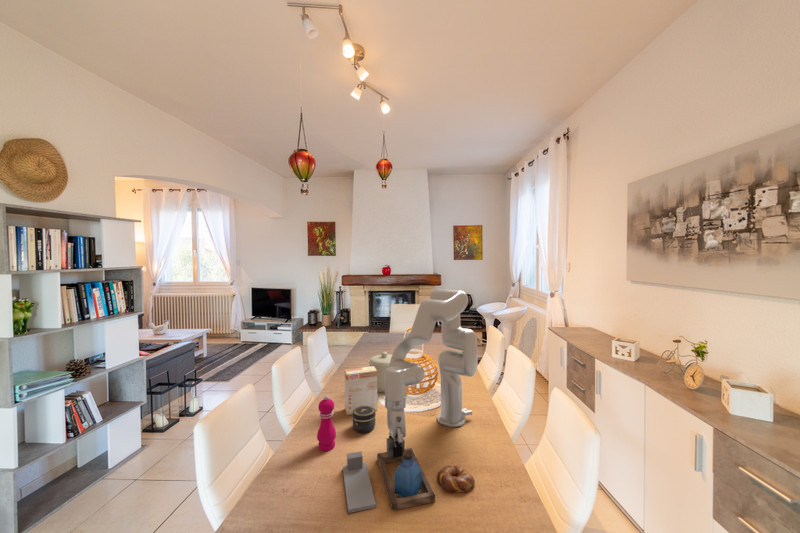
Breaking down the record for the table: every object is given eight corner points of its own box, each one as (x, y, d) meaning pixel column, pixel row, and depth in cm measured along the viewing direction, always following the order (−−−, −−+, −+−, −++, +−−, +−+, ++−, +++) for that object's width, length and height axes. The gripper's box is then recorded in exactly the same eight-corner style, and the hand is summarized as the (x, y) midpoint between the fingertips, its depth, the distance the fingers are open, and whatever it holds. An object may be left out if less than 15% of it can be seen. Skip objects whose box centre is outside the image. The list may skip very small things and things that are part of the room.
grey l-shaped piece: (365, 464, 111) (365, 450, 111) (375, 507, 92) (375, 490, 92) (342, 468, 109) (342, 454, 109) (348, 513, 90) (348, 495, 90)
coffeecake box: (374, 404, 159) (374, 365, 158) (377, 410, 152) (377, 370, 152) (344, 408, 154) (344, 369, 154) (346, 415, 147) (346, 374, 147)
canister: (372, 382, 188) (372, 346, 187) (402, 383, 185) (402, 347, 185) (364, 395, 170) (364, 356, 169) (398, 396, 167) (397, 357, 167)
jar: (347, 430, 134) (347, 412, 134) (361, 420, 143) (361, 403, 143) (367, 436, 130) (367, 418, 129) (379, 425, 138) (379, 408, 138)
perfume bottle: (411, 501, 94) (411, 462, 94) (394, 493, 98) (394, 455, 98) (421, 488, 100) (421, 451, 99) (404, 481, 103) (404, 445, 103)
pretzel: (474, 475, 106) (474, 464, 106) (474, 498, 96) (474, 486, 96) (439, 469, 109) (439, 458, 109) (435, 491, 99) (435, 480, 99)
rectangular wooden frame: (411, 453, 118) (411, 434, 118) (435, 501, 94) (435, 478, 94) (377, 458, 114) (377, 439, 114) (392, 510, 91) (392, 486, 91)
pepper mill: (339, 443, 125) (339, 393, 125) (329, 453, 118) (329, 400, 118) (323, 439, 127) (323, 390, 127) (313, 450, 120) (312, 398, 120)
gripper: (412, 411, 107) (412, 464, 107) (399, 391, 124) (399, 436, 124) (390, 414, 105) (390, 468, 105) (380, 393, 122) (380, 439, 122)
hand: (395, 450), depth 115 cm, fingers open, 5 cm apart
